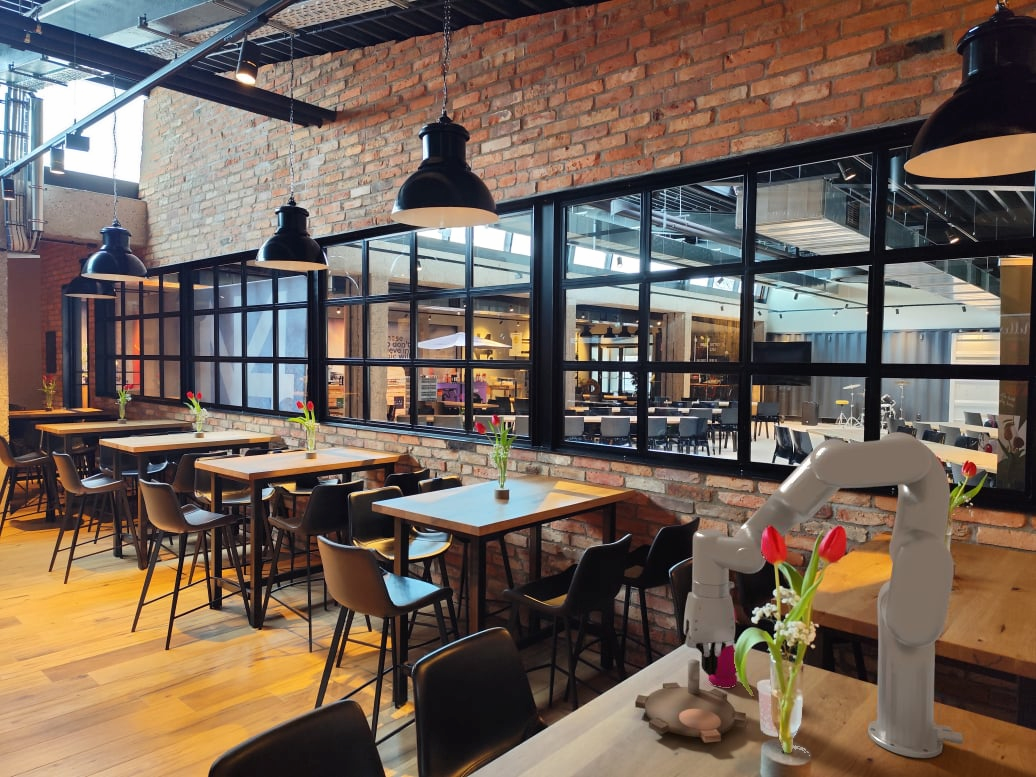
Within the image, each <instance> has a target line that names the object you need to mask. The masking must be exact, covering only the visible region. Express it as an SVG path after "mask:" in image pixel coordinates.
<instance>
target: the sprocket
mask: <svg viewBox="0 0 1036 777" xmlns="http://www.w3.org/2000/svg"><path fill="white" fill-rule="evenodd" d="M700 663H701V662H700V660H697V659H692V658H691V659H688V661H687V686H680V685H679V684H678V682H665V683H662V688H660V689H657V690H655V691H653V692H651V693H650V694H648V695H642V694H638V695H637V697H636V700H635V701H634V702H635V703H634V707H635V708H638V709H643V710H644V712H645V714H646V716H647V718H648V719H649V721H648V728H649V729H651V730H653V731H655V732H657V733H658V734H660V735H663V734H665V733H666V732H671V733H673V734H677V735H681V736H682V735H683V736H688V737H695V738H697V737H698V738H701V740H702V741H703V742H704V743H713V742H714V743H715V742H722V734H725V733H727V732H728V731H730V730H732V728H733V727H734V726H737V727H738V726H739V727H743V728H745V727H746V722H747V721H746V720H747V715H746V714H747V713H746V712H742V711H736V709H735V707H734V706H733V704H731V702H729V701H728V693H725V692H723V691H722V690H719V689H717V688H713V689H711V690H705V689H702V688H700V676H701V674H700V671H701V670H700V668H701V667H700V666H701V664H700Z"/></svg>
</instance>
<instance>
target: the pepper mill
mask: <svg viewBox="0 0 1036 777" xmlns="http://www.w3.org/2000/svg"><path fill="white" fill-rule="evenodd" d="M733 608H734V616H735V622H736V621H737V620H738V616H737V615H738V614H737V611H736V609H735V607H734V606H733ZM734 652H736V650H735V647H734V644H733V645H730V646H727V647H725V648H724V649H723V650H722V651H721V652H720V656H718V668H717V669H716V675H713V674H712V675H708V682H709V681H710V682H711V683H712V684H713V685H716V686H721V687H732V686H734V685H736V683H737V684H738V676H737V675H736V674H737V673H738V671H736V668H735V664H734ZM710 682H709V683H710ZM711 683H710V684H711ZM712 684H711V685H712ZM713 685H712V686H713ZM716 686H715V687H716ZM736 686H737V685H736Z"/></svg>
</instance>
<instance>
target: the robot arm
mask: <svg viewBox="0 0 1036 777" xmlns="http://www.w3.org/2000/svg"><path fill="white" fill-rule="evenodd" d="M885 486H886V487H887V486H897V488H898V490H897V491H898V495H897V503H896V513H895V518H894V523H893V529H892V532H891V533H892V534H891V538H890V541H889V546H888V548H889V549H888V552H889V556H890V560H891V563H892V567H891V571H890V572H891V574H890V579H889V580H888V581H886V582H885V583H884V584H883V585H882V586H881V587H880V589H879V592H878V595H877V626H878V627H877V629H878V631H877V633H878V636H877V638H878V644H877V645H878V646H877V647H878V648H877V650H878V651H877V652H878V654H877V655H878V656H877V702H876V703H877V704H876V706H877V707H876V709H877V711H876V714H877V715H876V717H877V718H876V719H875V720H873V721H871V722H870V723H869V724H868V728H867V732H868V736H869V738H870V739H871V740H872V741H873V742H874V743H875V744H877V745H878V746H880V747H881V748H883V749H885V750H887V751H889V752H892V753H895V754H898V755H901V756H904V757H909V758H916V759H928V758H929V759H930V758H935V757H937V756H939V755H940V754H942V751H943V743H944V742H948V743H949V742H950V743H953V744H958V745H963V743H964V739H963V734H962V732H957V731H953V728H952V726H948V725H947V726H946V725H938V723H936V722H935V720H934V719H935V718H934V713H935V712H934V711H935V710H934V708H935V668H936V667H935V666H936V665H935V664H936V663H935V658H936V650H935V649H936V648H935V646H936V645H935V642H936V641H937V640H938V639H939V638H940V636H942V633H943V630H944V629H945V628H944V627H945V624H946V619H947V614H948V609H949V603H950V599H951V594H952V593H951V592H952V586H953V581H954V580H953V579H954V573H955V572H954V570H955V568H954V559H953V556H952V554H951V551H950V550H949V548H948V547H947V545H946V534H947V526H948V519H949V510H950V501H951V491H950V490H951V489H950V483H949V478H948V475H947V473H946V469H945V468H944V466H943V465H942V462H941V461H940V460H939V458H938V456H937V455H936V454H935V453H934V452H933V450H931V448H929V447H928V446H927V445H925V443H923V442H922V441H921V440H919V439H918V438H916V437H914V436H913V435H911V434H908V433H905V432H901V431H900V432H898V431H895V432H890V433H889V434H885V435H884V436H882V437H881V438H880V439H878V440H868V441H859V442H846V441H843V440H840V439H838V438H837V439H836V438H835V439H834V438H832V439H831V438H830V439H826V440H824V441H822V442H821V443H820V444H818V445H817V446H816V447H815V448H814V449H813V450H812V451H811V452H810V453H809V454H808V455H807V456H806V457H805V458H804V459H803V461H802V462H800V464H799V465H798V466H797V467H796V468H795V469H794V470H793V471H792V472H791V473H790V475H789V476H787V478H786V479H785V480H783V482H782V483H781V484H780V485H779V486H778V487H777V488H776V490H775V491H774V492H772V493H771V494H770V496H769V497H768V499H767V500H765V502H764V503H763V504H762V505H761V506H760V507H759V508H758V509H757V510H756V511H755V512H754V513H753V514H752V515H751V516H750V518H748V519H747V521H746V522H745V523H744V524H742V526H741V527H740V528H739V529H738V530H737V531H736V533H734V536H733V537H731V536H729V535H728V534H727V533H726V532H724V531H721V530H719V529H713V528H711V529H709V528H703V529H698V530H697V531H695V532H694V533H693V536H692V574H691V575H692V577H691V578H692V580H691V581H692V585H691V591H690V592H689V591H688V594H687V597H686V598H687V599H686V602H685V606H684V607H685V608H684V609H685V610H684V618H683V619H684V620H683V633H684V635H685V636H686V637H685V642H684V644H685V645H686V647H687V648H691V649H697V650H698V651H699V652H700V653H701V662H700V663H701V664H700V666H701V669H702V670H703V672H704V673H705V674H707V676H709V675H712V674H713V675H716V669H717V668H718V656H720V652H721V651H722V650H723V649H724V648H725V647H727V646H730V645H733V646H734V644H735V637H736V636H735V635H736V621H735V616H734V609H735V607H734V603H733V598H732V595H731V594H730V590H731V589H734V588H735V583H734V581H730V580H729V579H730V577H729V576H730V574H729V573H730V571H729V570H731V571H735V572H740V573H741V574H742V573H743V574H755V573H758V572H759V571H760V570H762V569H763V567H764V566H765V564H766V563H767V562H766V561H767V559H766V560H765V559H764V558H763V556H762V553H761V537H762V533H763V531H764V530H765V528H766V527H767V526H769V525H771V526H773V527H774V528H775V529H776V530H777V531H778V532H779V533H780V534H781V536H782V538H783V537H784V536H785V535H786V534H787V533H788V532H789V531H790V530H792V529H793V528H794V527H796V526H797V525H800V524H802V523H805V522H807V521H808V520H810V519H811V518H813V517H814V516H815V515H816V513H818V512H819V510H820V509H822V507H823V506H824V505H826V503H827V502H828V501H829V500H830V499H831V498H832V497H833V496H834V494H836V493H837V492H838V491H839V490H840V489H851V488H852V489H857V488H873V487H885ZM733 607H734V608H733Z"/></svg>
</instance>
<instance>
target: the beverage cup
mask: <svg viewBox="0 0 1036 777" xmlns="http://www.w3.org/2000/svg"><path fill="white" fill-rule="evenodd" d="M770 680H771V679H761V680H758V681H757V683H756V687H757V688H756V689H757V691H758V704H759V705H758V706H759V721H760V722H759V723H760V731H761V732H762V731H763V732H762V733H763V734H765V735H767V736H770V737H778V733H777V731H776V730H775V729H774V727H773V724H772V715H771V693H770V692H771V685H770ZM778 738H779V737H778Z"/></svg>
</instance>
